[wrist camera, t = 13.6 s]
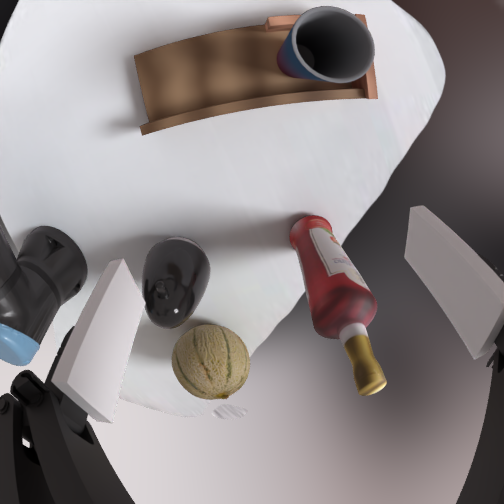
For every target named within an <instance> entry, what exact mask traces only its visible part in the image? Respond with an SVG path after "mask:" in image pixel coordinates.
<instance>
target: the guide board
mask: <svg viewBox="0 0 504 504" xmlns="http://www.w3.org/2000/svg"><path fill="white" fill-rule="evenodd" d="M300 16H301V15H288V16H275V17H268V19H267V21H266V23H265V25H257V26H249V27H243V28H236V29H230V30H225V31H220V32H215V33H210V34H205V35H201V36H197V37H193V38H189V39H185V40H181V41H178V42H174V43H171V44H167V45H164V46H161V47H158V48H155V49H152V50H149V51H146V52H143V53H140V54H137V55H135V56H134V59H135V64H136V68H137V73H138V77H139V82H140V86H141V90H142V95H143V99H144V103H145V107H146V111H147V115H148V119H149V123H146V124H144V125H142V126H140V129H141V133H142V136H143V135H146V134H149V133H152V132H156V131H159V130H162V129H166V128H169V127H173V126H177V125H180V124H184V123H188V122H192V121H196V120H200V119H205V118H209V117H214V116H218V115H223V114H228V113H233V112H238V111H244V110H249V109H255V108H262V107H268V106H275V105H283V104H291V103H300V102H310V101H321V100H336V99H359V98H367V99H378V95H377V85H376V77H375V69H374V62H373V63H372V65H371V67H370V68H369V70H368V71H367V72H366V73H365V74H364V75H363V76H362V77H360V78H359V79H357V80H355V81H351V82H348V83H333V82H326V81H318V80H309V79H300V78H292V77H289V76H287V75H286V74H284V73H283V72H282V71H281V70H280V69H279V67H278V65H277V54H278V51H279V50H280V48H281V46H282V44H283V42H284V41H285V39H286V37H287V36H288V34H289V32H290V30H291V29H292V27H293V25H294V24H295V22H296V20H297V19H298V18H299V17H300ZM355 16H356V17H357V18H359V19H360V20H361V21H362V22H363V23H364V24H365V25H366V27H367V23H366V18H365V15H361V14H355Z"/></svg>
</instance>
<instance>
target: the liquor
mask: <svg viewBox="0 0 504 504" xmlns="http://www.w3.org/2000/svg"><path fill="white" fill-rule="evenodd" d="M290 243H291V245H292V247H293V248H294V249H295V250H296V252H297V256H298V259H299V263H300V267H301V271H302V275H303V280H304V285H305V290H306V295H307V299H308V303H309V307H310V311H311V316H312V320H313V325H314V329H315V330H316V332H317V333H318V334H319V335H321V336H323V337H325V338H330V339H340V340H341V342H342V344H343V346H344V348H345V350H346V352H347V355H348V357H349V359H350V361H351V363H352V365H353V373H354V380H355V383H356V387H357V390H358V393H359V395H362V396H366V395H371V394H374V393H376V392H378V391H379V390H381V389H382V388H383V387H385V385H386V379H385V377H384V374H383V372H382V369H381V367H380V365H379V364H378V362H377V361H376V359H375V357H374V355H373V352H372V348H371V345H370V341H369V338H368V335H367V332H366V327H367V326H368V325H369V323H370V322H371V321H372V319H373V318H374V316H375V314H376V311H377V302H376V300H375V298H374V297H373V295H372V293H371V292H370V290H369V289H368V287H367V285H366V283H365V282H364V280H363V279H362V277H361V275H360V274H359V272H358V271H357V269H356V268H355V266H354V265H353V264H352V262H351V261H350V259H349V258H348V257H347V255H346V254H345V252H344V250H343V249H342V247H341V246H340V244H339V243H338V241H337V240H336V238H335V237H334V235H333V234H332V227H331V225H330V223H329V222H328V221H327V220H326V219H325V218H323V217H320V216H314V215H313V216H307V217H304V218H302V219H300V220H299V221H297V222H296V223H295V224H294V226H293V227H292V229H291V231H290Z"/></svg>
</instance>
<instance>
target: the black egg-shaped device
mask: <svg viewBox="0 0 504 504" xmlns="http://www.w3.org/2000/svg"><path fill="white" fill-rule="evenodd" d="M209 278H210V263H209V260H208V258H207V256H206V255H205V253H204V251H203V250H202V249H201V248H200V246H198V245H197V244H196V243H195V242H193V241H191V240H189V239H186V238H182V237H173V238H169V239H166V240H164V241H162V242H160V243H158V244H156V245H155V246H154V247H153V248H152V249H151V250H150V251H149V253H148V255H147V257H146V260H145V264H144V269H143V276H142V297H143V299H144V301H145V303H146V304H145V310H146V313H147V315H148V317H149V318H150V320H151V321H152V322H153V323H154V324H155V325H157V326H159V327H161V328H165V329H172V328H176V327H178V326H180V325H181V324H183V323H184V322H185V321H186V320H187V319H188V318H189V317H190V316H191V315H192V314H193V312H194V311H195V309H196V308H197V306H198V304H199V303H200V301H201V299H202V297H203V295H204V293H205V290H206V288H207V285H208V282H209Z"/></svg>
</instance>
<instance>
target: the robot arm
mask: <svg viewBox="0 0 504 504" xmlns="http://www.w3.org/2000/svg"><path fill="white" fill-rule="evenodd" d="M405 259H406V260H407V261H408V263H409V264H410V265H411V267H412V268H413V269H414V270H415V272H416V273H417V274H418V276H419V277H420V278H421V280H422V281H423V282H424V284H425V285H426V286H427V288H428V289H429V291H430V292H431V293H432V295H433V296H434V298H435V299H436V300H437V302H438V303H439V305H440V306H441V308H442V309H443V311H444V312H445V314H446V315H447V317H448V318H449V319H450V321H451V323H452V324H453V326H454V327H455V329H456V330H457V332H458V334H459V335H460V337H461V338H462V340H463V341H464V343H465V345H466V347H467V348H468V350H469V352H470V353H471V355H472V357H473V359H474V360H475V359H476V358H479V357H480V356H482V355H484V354H486V353H488V351H489V350H490V348H491V346H492V345H493V343H495V344H496V346H497V349H496V351H495V352H494V353H493V355H492V357H491V358H490V359H489V361H488V363H487V366H486V367H489V365H490V364H491V363H492V361H493V360H494V364H493V366H492V368H493V372H492V380H491V387H490V393H489V399H488V404H487V409H486V414H485V419H484V423H483V427H482V431H481V435H480V439H479V442H478V446H477V449H476V452H475V456H474V459H473V462H472V465H471V468H470V470H469V473H468V476H467V479H466V481H465V484H464V486H463V489H462V491H461V493H460V496H459V498H458V500H457V503H456V504H504V276H503V275H502V273H501V272H500V271H499V270H497V268H496V267H495V266H494V265H493V264H492V263H491V262H490V261H489V260H488V259H486V258H485V257H483V256H482V255H480V254H478V255H477V254H476V253H475V252H474V251H473V250H472V249H471V248H470V247H469V246H468V245H467V244H466V243H465V242H464V241H463V240H462V239H461V238H460V237H459V236H458V235H457V234H456V233H454V232H453V231H452V230H451V229H450V228H449V227H448V226H447V225H446V224H444V223H443V222H442V221H441V220H440V219H439V218H438V217H436V216H435V215H434V214H433V213H432V212H430V211H429V210H428V209H427V208H426V207H424V206H417V207H411V208H410V217H409V227H408V235H407V243H406V250H405ZM86 278H87V265H86V262H85V259H84V256H83V254H82V252H81V251H80V249H79V247H78V246H77V245H76V243H75V242H74V241H73V240H72V239H71V238H70V237H69V236H68V235H66V234H65V233H63V232H62V231H60V230H58V229H56V228H53V227H49V226H42V227H38V228H36V229H35V230H33V231H32V232H31V233H30V234H29V235H28V236H27V238H26V239H25V241H24V243H23V245H22V248H21V250H20V253H19V255H18V258H17V260H16V258H15V256H14V254H13V252H12V250H11V248H10V245H9V243H8V241H7V239H6V237H5V234H4V232H3V230H2V228H1V225H0V359H2V360H4V361H5V362H8V363H10V364H13V365H16V366H25V365H27V364H29V363H30V362H31V360H32V359H33V357H34V355H35V354H36V352H37V350H39V348H40V344H41V342H42V340H43V338H44V336H45V333H46V332H47V330H48V328H49V326H50V324H51V322H52V321H53V319H54V317H55V315H56V313H57V311H58V310H59V308H60V306H61V305H63V304H64V303H65V302H67V301H68V300H69V299H71V298H72V297H74V296H75V295H76V294H77V293H78V292H79V291H80V290H81V288H82V287H83V285H84V283H85V281H86ZM145 304H146V303H145V301H144V299H143V297H142V295H141V293H140V291H139V289H138V287H137V285H136V283H135V281H134V279H133V277H132V275H131V273H130V271H129V269H128V267H127V265H126V263H125V260H124V258H121V259H116V260H112V261H110V262H109V263H108V265H107V267H106V268H105V270H104V272H103V274H102V275H101V277H100V279H99V281H98V283H97V284H96V286H95V288H94V290H93V292H92V294H91V295H90V297H89V299H88V301H87V303H86V305H85V307H84V309H83V311H82V313H81V315H80V317H79V319H78V321H77V323H76V325H75V326H73V327H72V328H71V329H70V331H69V332H68V333H67V334H66V335H65V337H64V340H63V342H62V344H61V348H59V350H58V353H57V356H56V357H55V360H54V362H53V364H52V367H51V369H50V371H49V374H48V376H47V379H46V381H45V383H43V382H42V381H41V380H40V379H39V378H38V377H37V376H36V375H35V374H34V373H33V372H32V371H30V370H24V371H22V372H20V373H19V374H18V375H17V376H16V377H15V379H14V380H13V382H12V385H11V390H10V392H11V394H12V395H13V396H14V397H15V398H16V399H15V398H14V397H13V396H12V395H11V394H9V393H6V394H4V395H2V396H1V397H0V504H135V503H134V501H133V500H132V498H131V497H130V495H129V494H128V492H127V491H126V489H125V487H124V486H123V484H122V483H121V481H120V479H119V478H118V476H117V474H116V473H115V471H114V469H113V467H112V466H111V464H110V462H109V460H108V459H107V457H106V455H105V453H104V451H103V449H102V447H101V445H100V443H99V441H98V439H97V437H96V435H95V433H94V431H93V428H92V427H91V425H90V423H89V422H88V421H87V416H88V414H89V415H90V416H91V417H92V418H93V419H95V420H96V421H99V422H106V423H113V420H114V415H115V411H116V407H117V402H118V398H119V394H120V390H121V386H122V382H123V378H124V374H125V370H126V367H127V363H128V359H129V356H130V352H131V349H132V345H133V342H134V339H135V335H136V332H137V329H138V326H139V322H140V319H141V316H142V313H143V310H144V307H145ZM17 399H18V400H17ZM22 438H24V439H25V440H27V441H28V442H30V447H29V448H28V447H26V446H24V445H23V442H22Z"/></svg>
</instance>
